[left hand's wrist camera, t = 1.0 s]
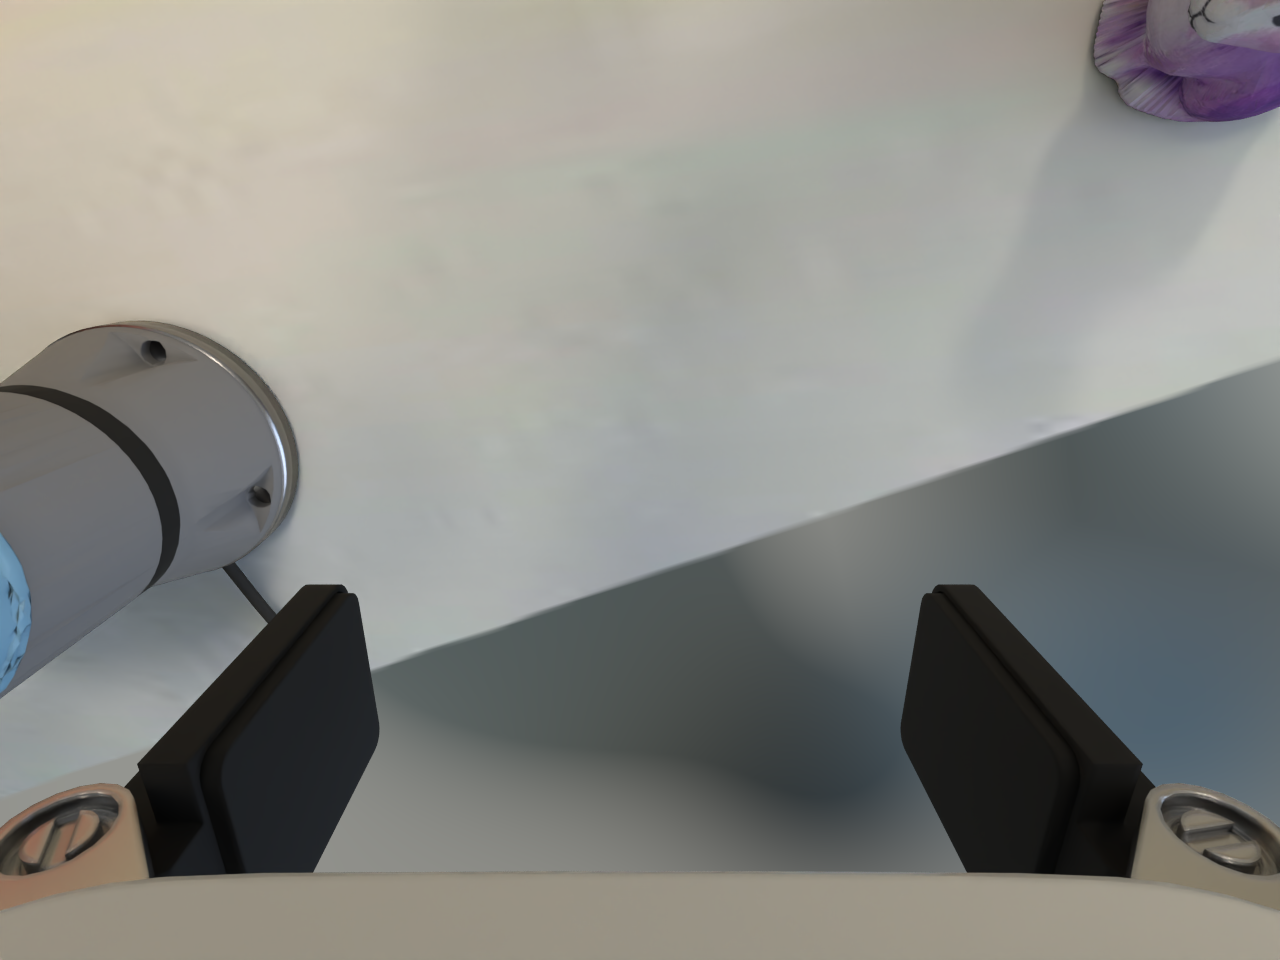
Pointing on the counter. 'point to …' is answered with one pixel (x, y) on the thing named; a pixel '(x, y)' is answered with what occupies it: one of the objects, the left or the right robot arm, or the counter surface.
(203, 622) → the counter surface
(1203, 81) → the figurine
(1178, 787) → the left robot arm
